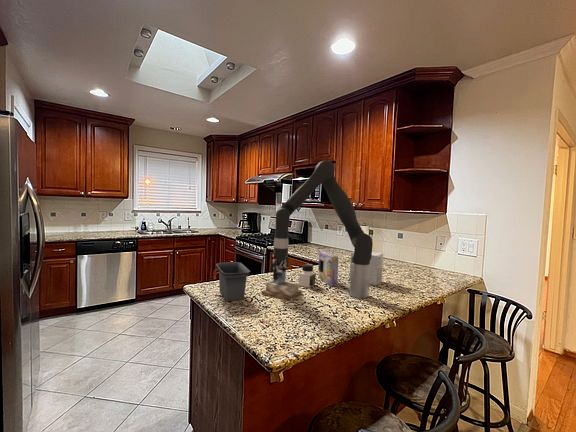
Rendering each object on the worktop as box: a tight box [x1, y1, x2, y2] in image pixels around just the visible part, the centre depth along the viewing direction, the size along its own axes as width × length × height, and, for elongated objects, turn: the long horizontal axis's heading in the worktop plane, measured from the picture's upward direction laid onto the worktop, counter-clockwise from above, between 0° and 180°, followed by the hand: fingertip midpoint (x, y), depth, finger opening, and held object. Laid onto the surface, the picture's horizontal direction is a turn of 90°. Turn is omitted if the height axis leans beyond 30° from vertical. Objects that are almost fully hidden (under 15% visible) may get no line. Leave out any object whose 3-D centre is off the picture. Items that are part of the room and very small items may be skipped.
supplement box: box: [349, 251, 384, 286], centre depth 185 cm, size 17×13×18 cm
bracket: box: [273, 269, 287, 286], centre depth 152 cm, size 9×4×10 cm, turn 62°
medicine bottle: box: [298, 263, 317, 289], centre depth 170 cm, size 7×7×12 cm
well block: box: [261, 279, 303, 302], centre depth 152 cm, size 16×14×6 cm
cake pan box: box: [317, 250, 339, 287], centre depth 179 cm, size 19×5×18 cm, turn 17°
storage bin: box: [213, 261, 251, 302], centre depth 145 cm, size 21×16×14 cm
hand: (279, 277), depth 153 cm, fingers open, 8 cm apart
